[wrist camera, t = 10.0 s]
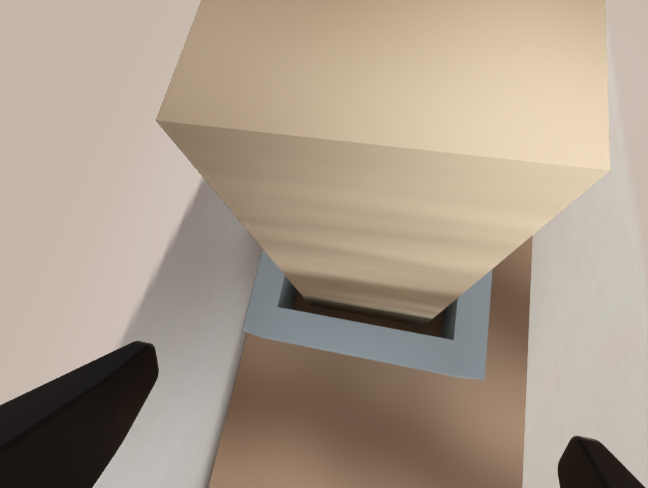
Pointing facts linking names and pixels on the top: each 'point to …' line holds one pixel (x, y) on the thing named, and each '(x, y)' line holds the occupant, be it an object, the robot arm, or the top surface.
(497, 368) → the tan flat plate
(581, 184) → the beech pillar
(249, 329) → the slate socket block
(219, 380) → the top surface
